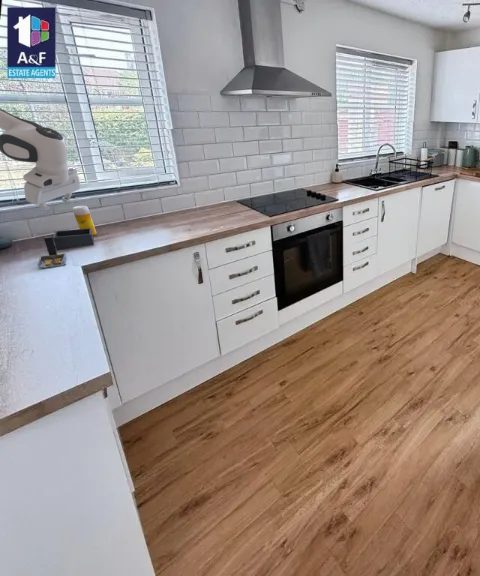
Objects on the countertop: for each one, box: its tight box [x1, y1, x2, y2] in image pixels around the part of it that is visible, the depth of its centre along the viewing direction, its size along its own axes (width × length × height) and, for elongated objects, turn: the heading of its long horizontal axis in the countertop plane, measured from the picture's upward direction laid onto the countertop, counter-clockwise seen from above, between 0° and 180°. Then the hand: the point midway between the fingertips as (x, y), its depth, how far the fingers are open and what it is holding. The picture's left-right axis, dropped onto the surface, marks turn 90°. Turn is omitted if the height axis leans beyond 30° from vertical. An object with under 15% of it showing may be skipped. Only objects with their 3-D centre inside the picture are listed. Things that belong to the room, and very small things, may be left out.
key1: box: [44, 260, 52, 265], centre depth 147 cm, size 6×2×1 cm, turn 37°
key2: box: [54, 258, 62, 264], centre depth 149 cm, size 6×2×1 cm, turn 37°
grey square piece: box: [37, 235, 67, 269], centre depth 148 cm, size 13×8×9 cm, turn 36°
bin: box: [52, 228, 95, 251], centre depth 169 cm, size 13×13×6 cm
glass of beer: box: [72, 205, 97, 236], centre depth 183 cm, size 6×6×15 cm
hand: (55, 205), depth 144 cm, fingers open, 8 cm apart
